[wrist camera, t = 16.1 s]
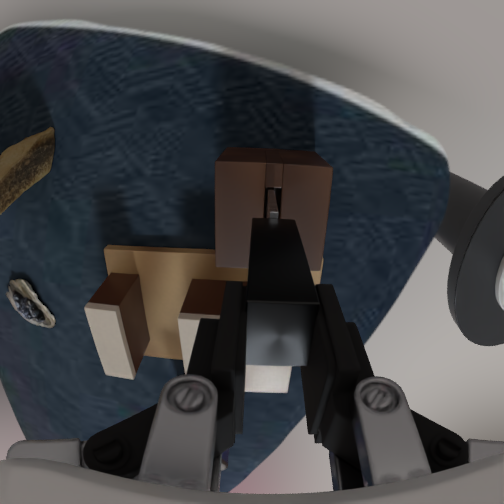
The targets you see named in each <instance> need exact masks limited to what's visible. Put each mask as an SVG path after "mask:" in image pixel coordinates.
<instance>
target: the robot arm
mask: <svg viewBox="0 0 504 504" xmlns="http://www.w3.org/2000/svg"><path fill="white" fill-rule="evenodd" d="M315 288H316V291H317V295H318V299H319V302H320V307H319V313H318V315H317V316H316V321H315V327H314V332H313V338H312V343H311V349H310V354H309V359H308V364H307V366H300V367H301V376H302V384H303V392H304V401H305V410H306V418H307V429H308V434H314V439H315V443H322V446H324V447H325V448H327V449H328V450H329V459H330V467H331V474H332V482H333V490H334V491H330V492H319V493H318V492H317V493H301V494H241V493H225V492H219V486H220V474H221V463H222V453H223V452H224V451H226V450H227V449H229V448H230V447H232V446H233V443H235V434H242V430H243V412H244V394H245V376H246V339H247V313H246V292H247V286H243V281H226V285H225V291H224V296H223V302H222V307H221V313H220V319H211V318H201V319H200V322H199V325H198V329H197V333H196V337H195V341H194V345H193V349H192V353H191V357H190V361H189V365H188V369H187V373H186V374H185V375H181V376H177V377H175V378H173V379H171V380H169V381H168V382H167V383H166V384H165V385H164V387H163V389H162V391H161V394H160V397H159V401H158V403H157V404H155V405H153V406H151V407H150V408H148V409H146V410H144V411H142V412H140V413H138V414H136V415H134V416H132V417H130V418H128V419H126V420H123V421H121V422H119V423H117V424H115V425H113V426H111V427H109V428H107V429H105V430H102V431H100V432H98V433H96V434H95V435H93V436H92V437H90V438H89V440H88V441H80V440H79V438H74V439H56V440H23V441H18V442H16V443H15V444H13V445H12V446H11V447H10V449H9V450H8V453H7V457H6V460H1V461H0V504H504V442H502V441H488V440H477V439H468V440H467V441H466V442H465V441H464V440H463V439H462V438H461V437H460V436H459V435H457V434H456V433H454V432H452V431H450V430H448V429H446V428H445V427H443V426H441V425H439V424H437V423H435V422H433V421H431V420H429V419H428V418H426V417H424V416H422V415H420V414H418V413H416V412H415V411H413V410H411V409H410V408H409V405H408V402H407V400H406V397H405V394H404V392H403V390H402V389H401V387H400V386H399V385H398V384H396V383H395V382H394V381H392V380H390V379H387V378H384V377H375V376H374V374H373V371H372V368H371V365H370V362H369V359H368V356H367V354H366V351H365V348H364V345H363V342H362V340H361V337H360V334H359V331H358V329H357V326H356V324H355V323H354V322H345V319H344V316H343V313H342V310H341V307H340V305H339V302H338V299H337V296H336V293H335V290H334V288H333V285H331V284H316V285H315ZM495 295H496V299H497V302H498V304H499V305H500V307H501V308H502V309H503V310H504V256H503V258H502V261H501V263H500V266H499V269H498V273H497V277H496V283H495Z"/></svg>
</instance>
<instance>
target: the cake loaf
mask: <svg viewBox="0 0 504 504" xmlns="http://www.w3.org/2000/svg"><path fill="white" fill-rule="evenodd" d="M226 281H227V280H208V279H192V280H191V283H190V286H189V288H188V291H187V294H186V297H185V299H184V302H183V305H182V307H181V310H180V313H179V316H178V326H179V334H180V342H181V349H182V357H183V364H184V370H185V374H186V373H187V369H188V365H189V361H190V357H191V353H192V349H193V345H194V341H195V337H196V333H197V329H198V325H199V322H200V319H201V318H211V319H220V313H221V307H222V302H223V296H224V291H225V285H226ZM243 286H247V281H243ZM291 369H292V366H261V365H246V376H245V392H268V393H287V392H288V386H289V381H290V375H291Z"/></svg>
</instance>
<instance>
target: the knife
mask: <svg viewBox="0 0 504 504" xmlns="http://www.w3.org/2000/svg"><path fill="white" fill-rule="evenodd" d="M319 307H320V302H319V299H318V295H317V291H316V288H315V284H314V281H313V277H312V274H311V271H310V267H309V264H308V260H307V257H306V254H305V250H304V247H303V244H302V240H301V237H300V234H299V231H298V227H297V224H296V221H295V220H293V219H278V207H277V201H276V196H275V190H274V188H271V187H267V190H266V209H265V218H252V226H251V239H250V253H249V266H248V279H247V292H246V313H247V339H246V365H261V366H307V364H308V359H309V354H310V349H311V343H312V338H313V332H314V327H315V321H316V316H317V315H318V313H319Z"/></svg>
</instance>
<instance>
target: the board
mask: <svg viewBox="0 0 504 504" xmlns="http://www.w3.org/2000/svg"><path fill="white" fill-rule="evenodd" d="M104 254H105V260H106V265H107V271H108V276H109V274H110V273H111V272H113V273H126V274H139V278H140V285H141V291H142V298H143V304H144V309H145V315H146V321H147V326H148V331H149V336H150V341H149V343H148V346H147V348H146V351H145V353H144V355H145V356H153V357H162V358H170V359H180V360H183V357H182V349H181V342H180V334H179V326H178V316H179V313H180V310H181V307H182V305H183V302H184V299H185V297H186V294H187V291H188V288H189V286H190V283H191V280H192V279H208V280H227V281H247V279H248V268H227V267H216V263H215V250H212V249H189V248H166V247H143V246H120V245H107V246H106V247H105V248H104ZM322 266H323V257H322V264H321V270H320V271H311V274H312V277H313V281H314V284H315V285H316V284H320V279H321V273H322Z"/></svg>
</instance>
